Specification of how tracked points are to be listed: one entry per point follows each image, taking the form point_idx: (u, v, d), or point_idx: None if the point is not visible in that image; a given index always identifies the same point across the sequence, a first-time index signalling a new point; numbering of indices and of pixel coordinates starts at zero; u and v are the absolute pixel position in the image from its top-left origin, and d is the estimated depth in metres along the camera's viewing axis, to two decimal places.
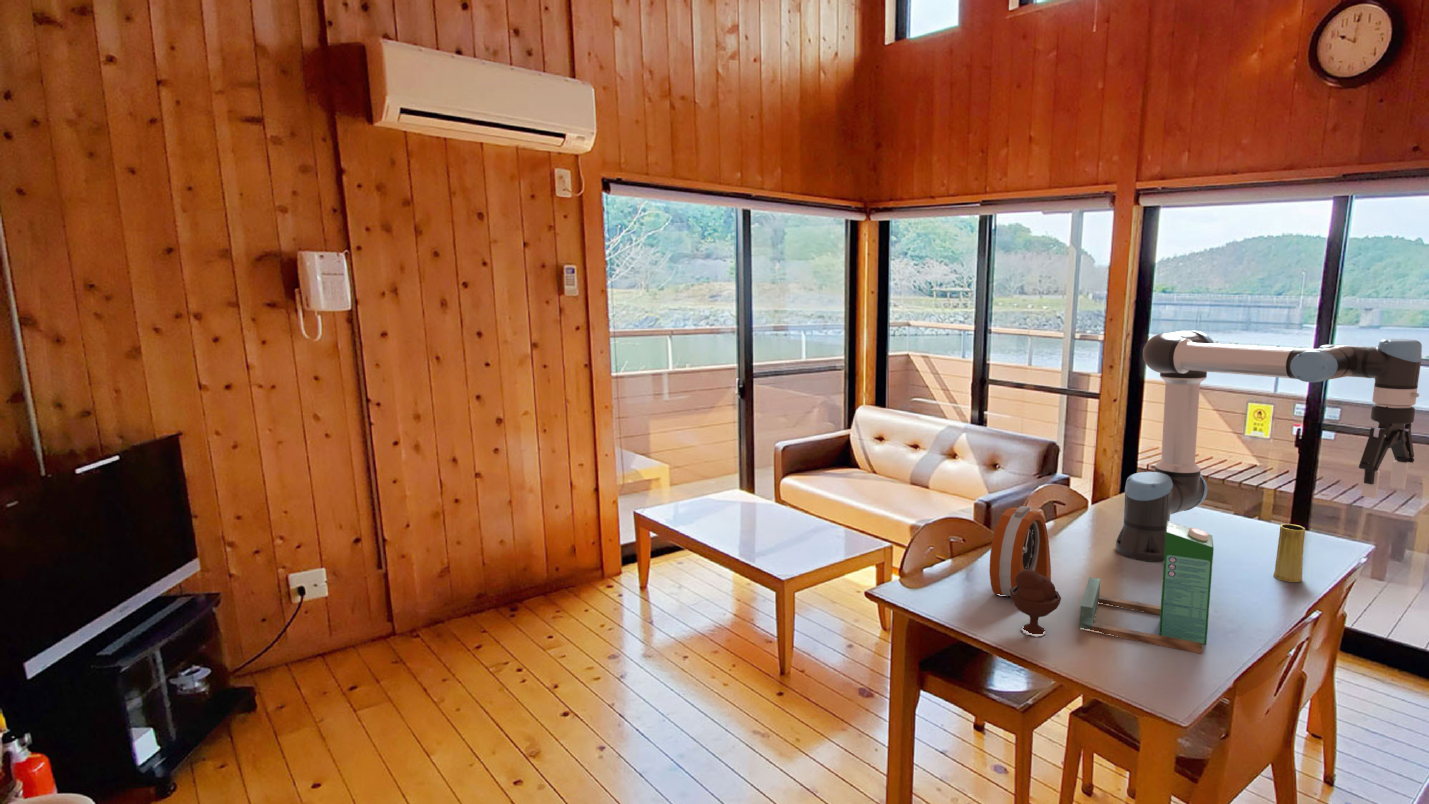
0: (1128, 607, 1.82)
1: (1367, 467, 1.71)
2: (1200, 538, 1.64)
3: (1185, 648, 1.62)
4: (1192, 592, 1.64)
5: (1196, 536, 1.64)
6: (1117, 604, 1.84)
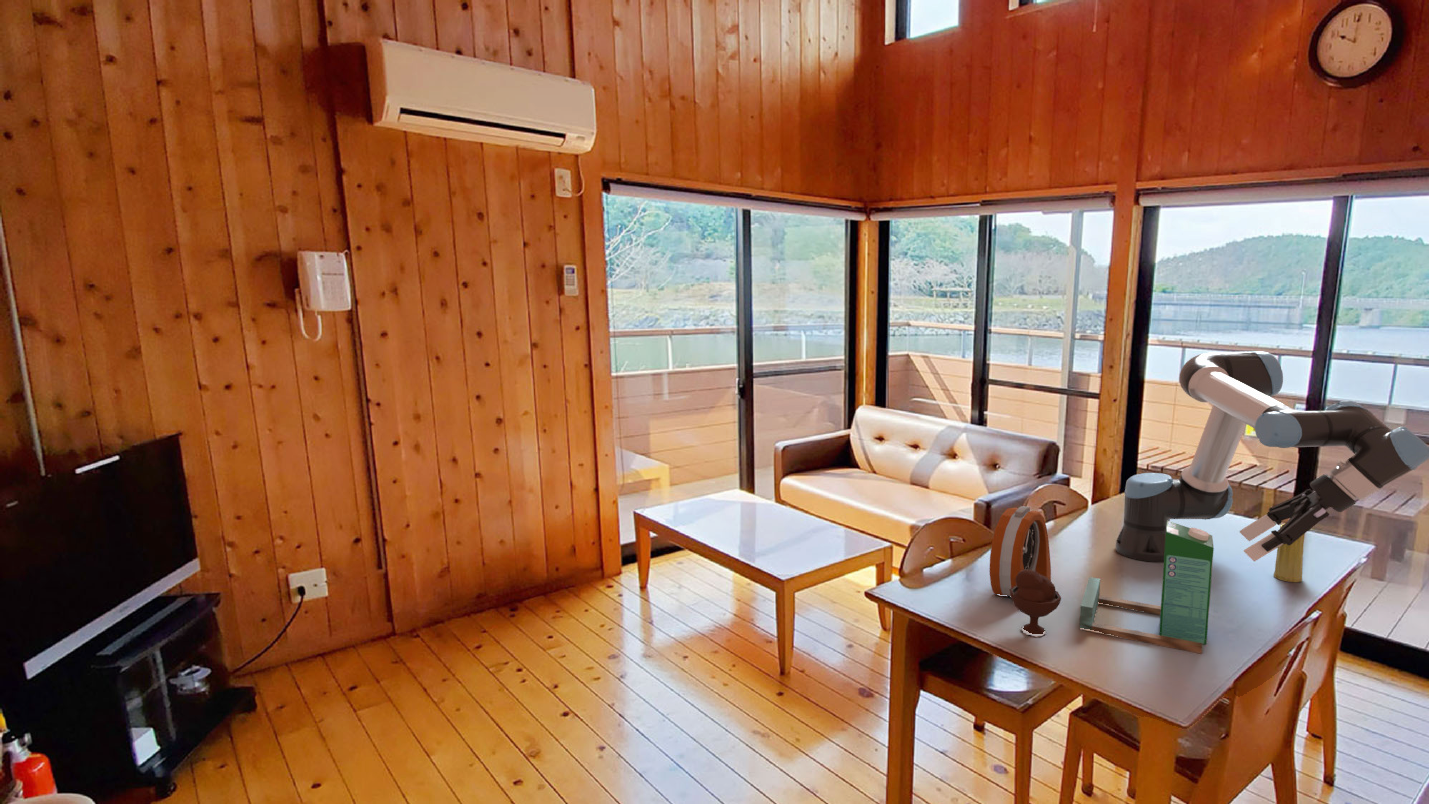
0: (1128, 607, 1.82)
1: None
2: (1200, 538, 1.64)
3: (1185, 648, 1.62)
4: (1192, 592, 1.64)
5: (1196, 536, 1.64)
6: (1117, 604, 1.84)
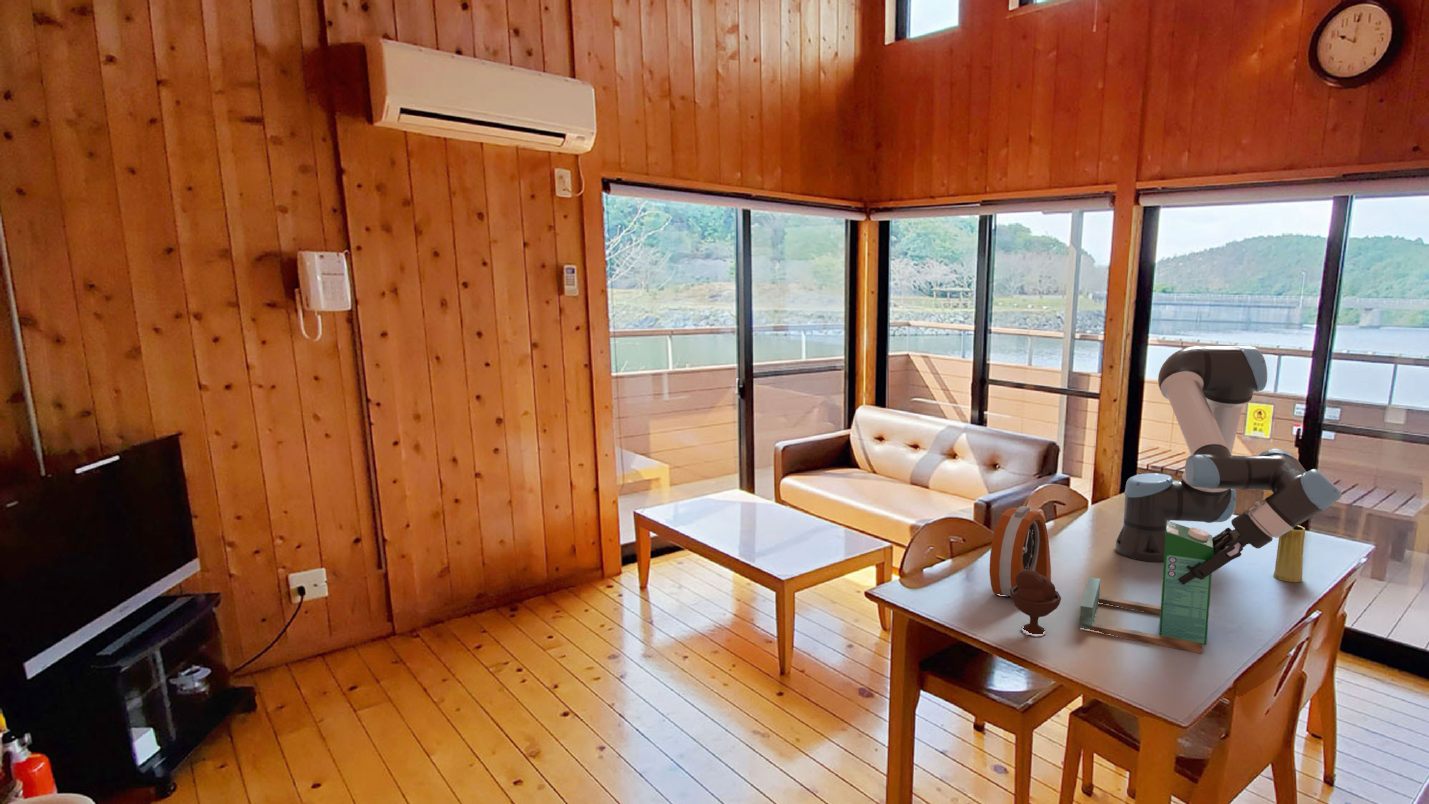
0: (1128, 607, 1.82)
1: None
2: (1200, 538, 1.64)
3: (1185, 648, 1.62)
4: (1192, 592, 1.64)
5: (1196, 536, 1.64)
6: (1117, 604, 1.84)
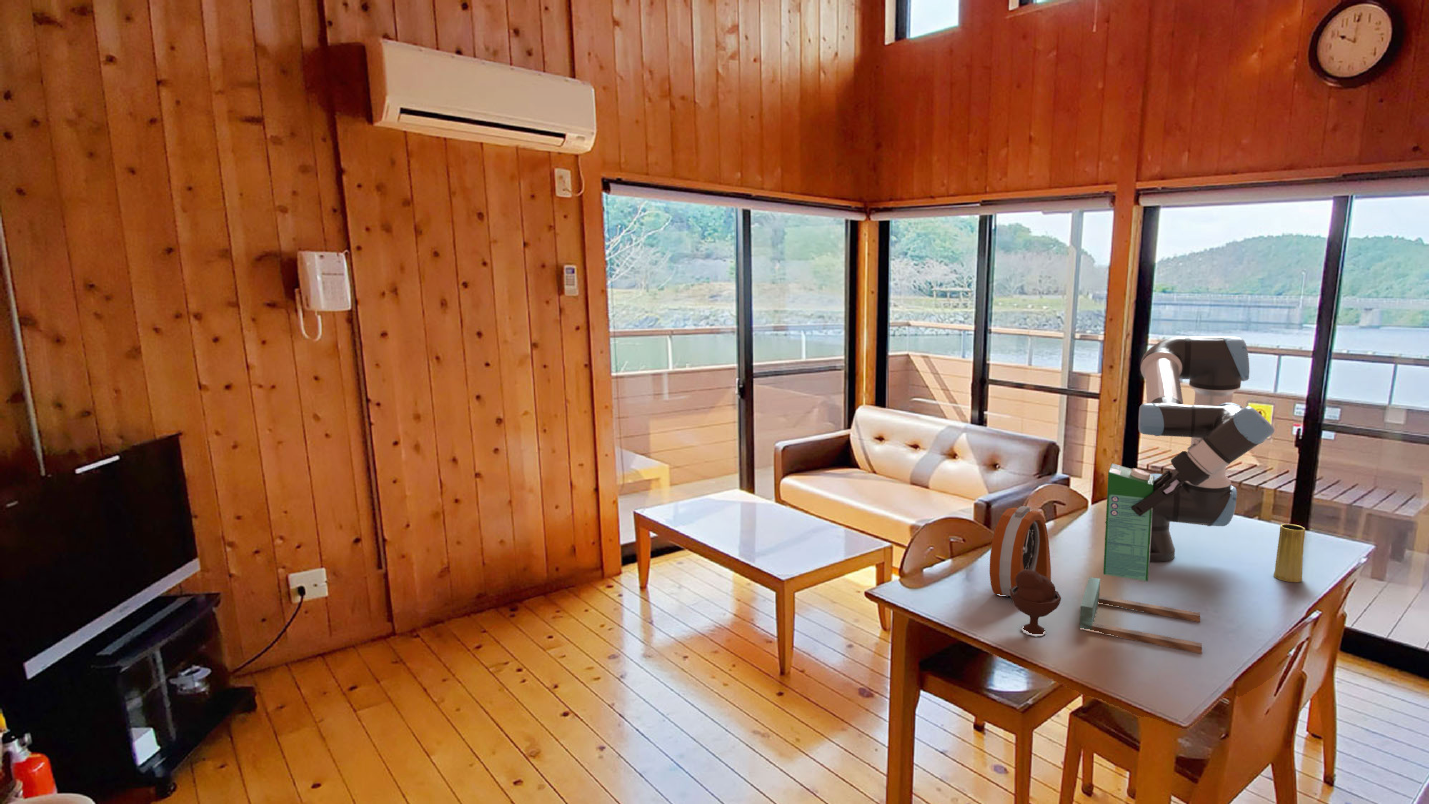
0: (1128, 607, 1.82)
1: None
2: (1141, 477, 1.68)
3: (1185, 648, 1.62)
4: (1133, 530, 1.68)
5: (1137, 476, 1.69)
6: (1117, 604, 1.84)
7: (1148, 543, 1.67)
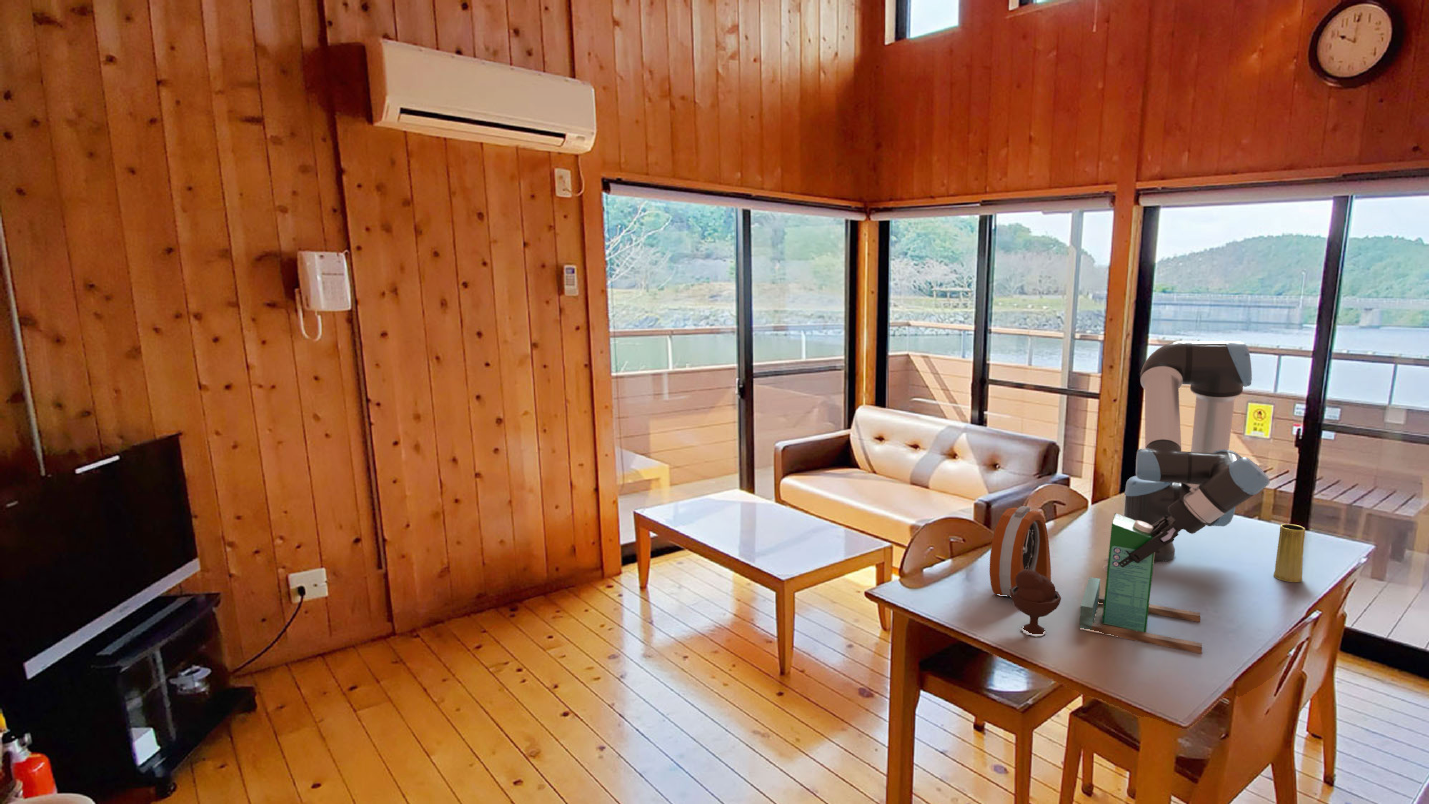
0: None
1: None
2: (1144, 530, 1.70)
3: (1185, 648, 1.62)
4: (1134, 582, 1.70)
5: (1141, 528, 1.70)
6: None
7: (1148, 596, 1.69)
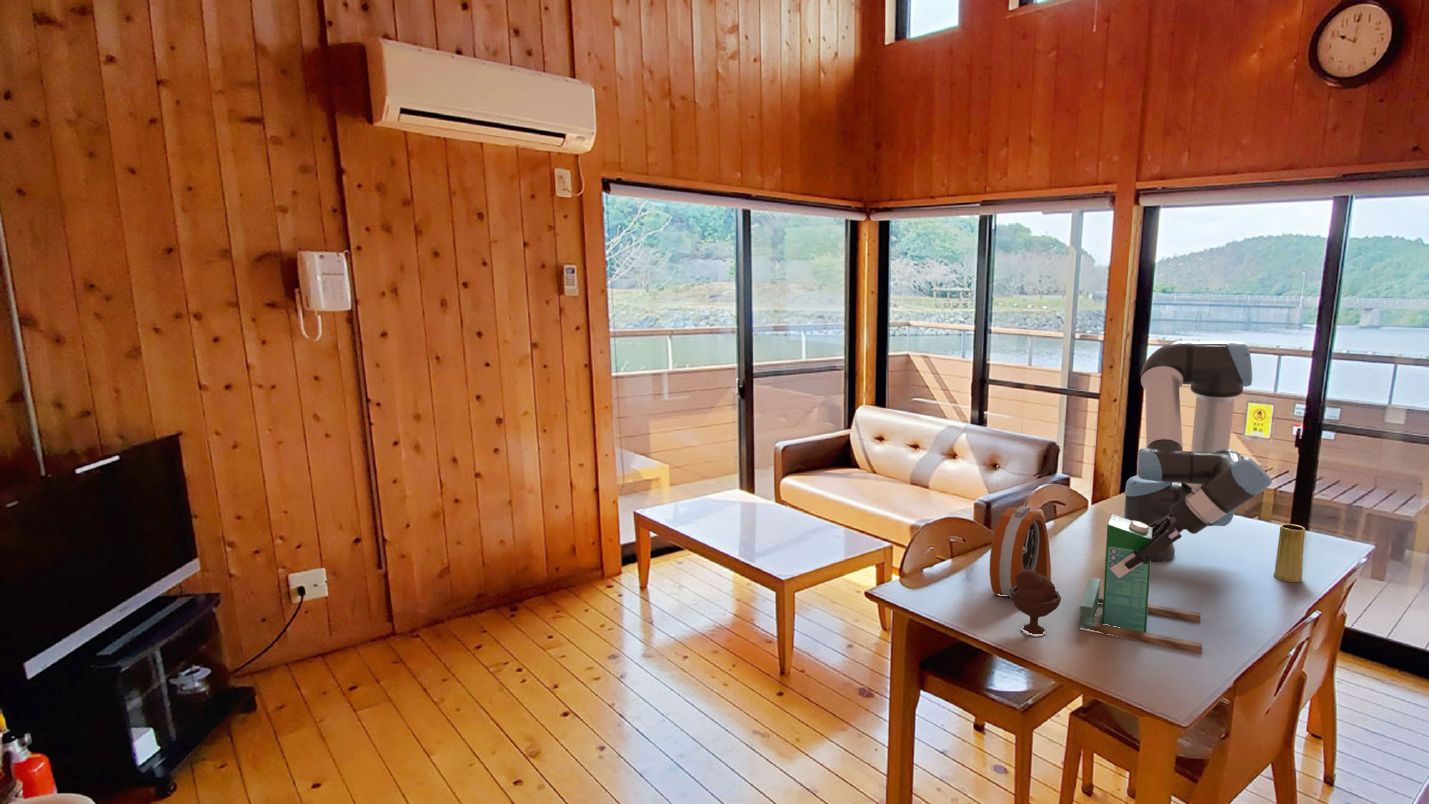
0: None
1: None
2: (1140, 530, 1.70)
3: (1185, 648, 1.62)
4: (1132, 582, 1.70)
5: (1136, 528, 1.70)
6: None
7: (1146, 595, 1.69)
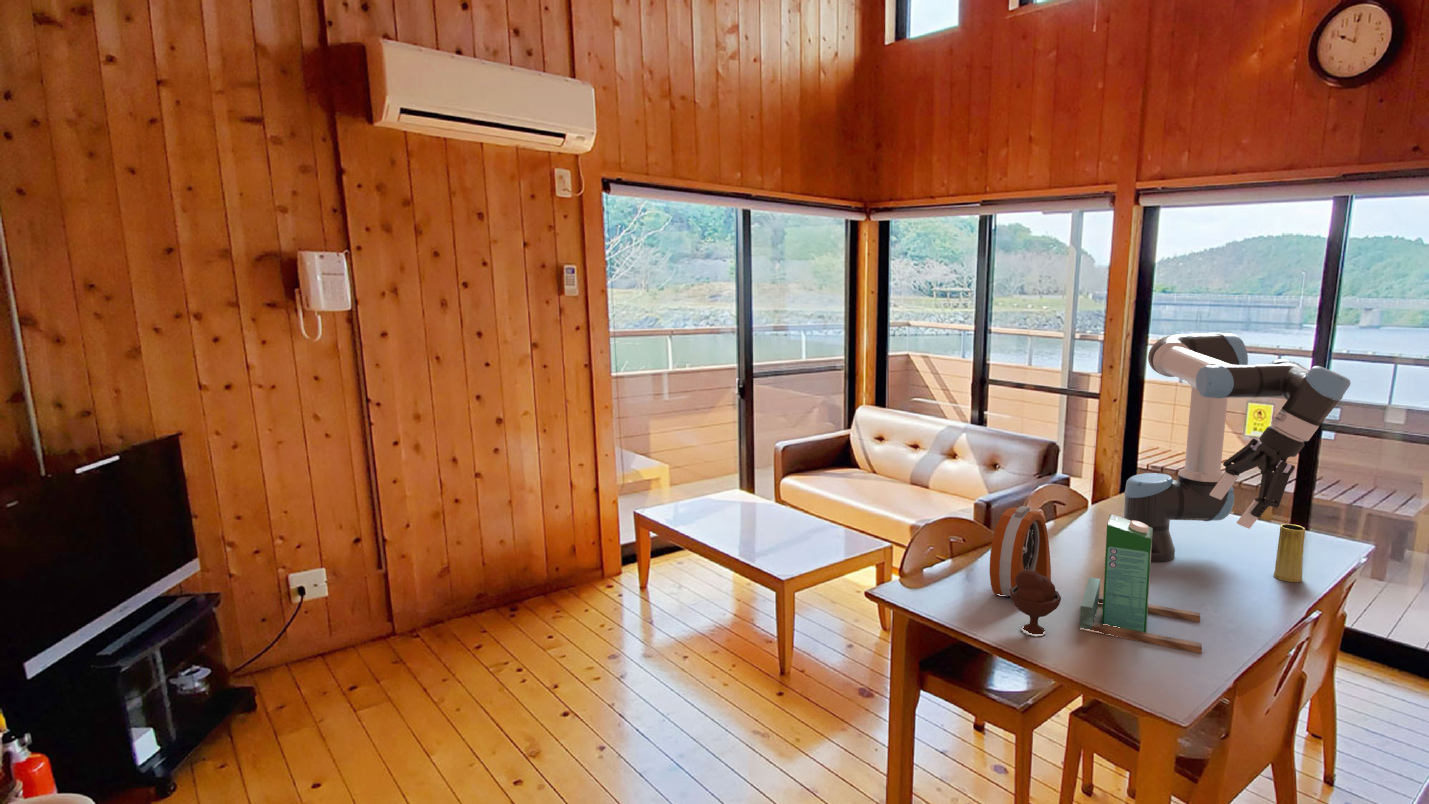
0: None
1: None
2: (1140, 530, 1.70)
3: (1185, 648, 1.62)
4: (1132, 582, 1.70)
5: (1136, 528, 1.71)
6: None
7: (1146, 595, 1.69)
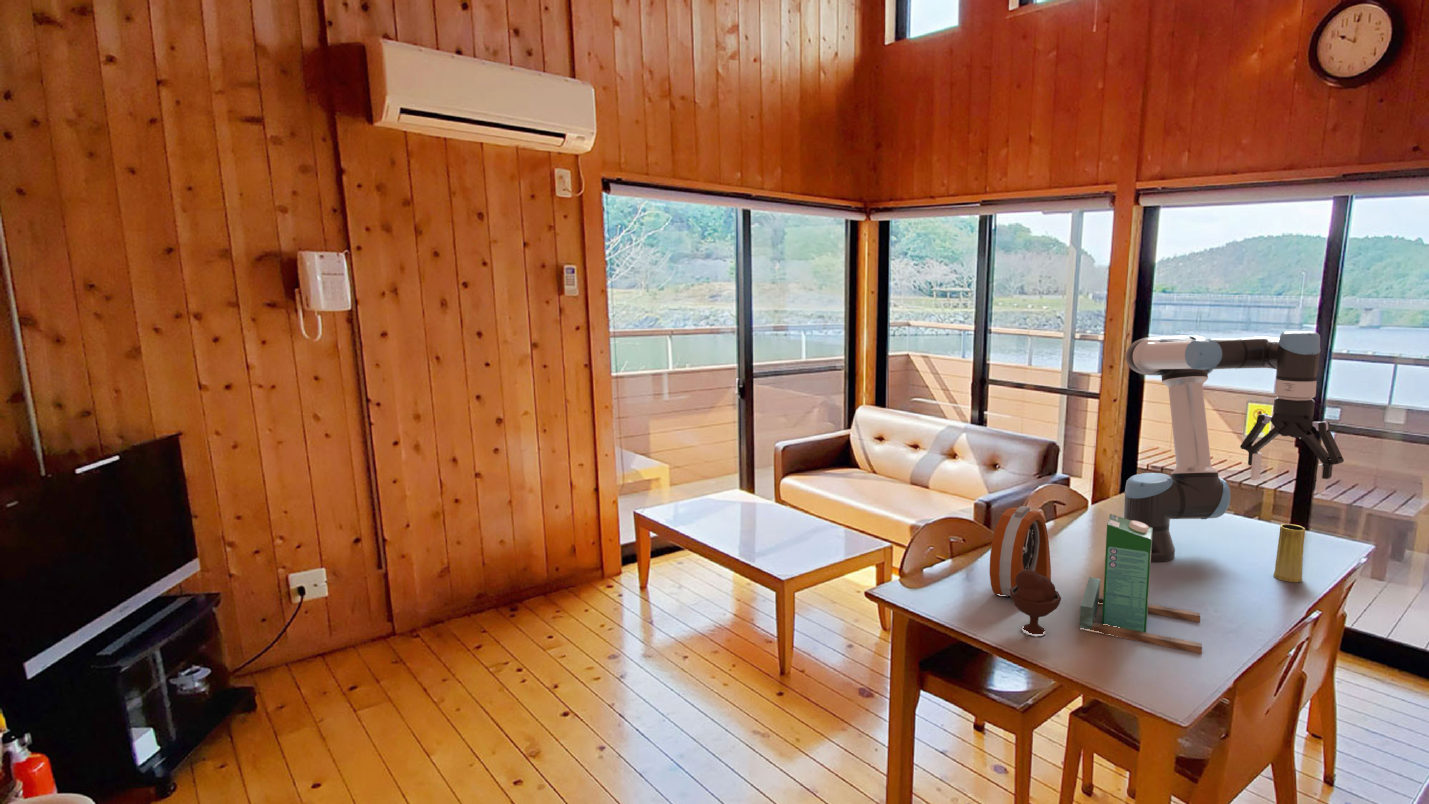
0: None
1: None
2: (1140, 530, 1.70)
3: (1185, 648, 1.62)
4: (1132, 582, 1.70)
5: (1136, 528, 1.71)
6: None
7: (1146, 595, 1.69)
